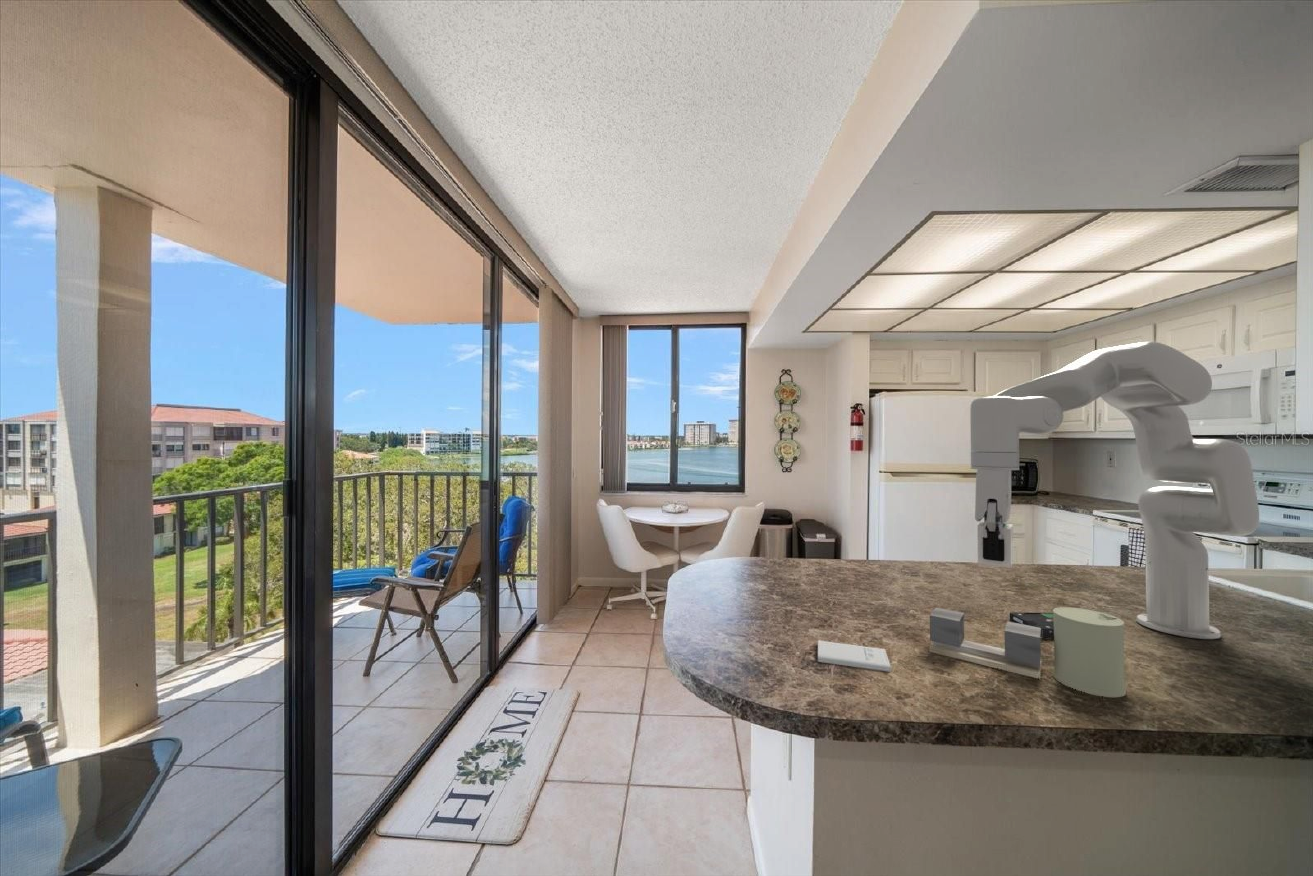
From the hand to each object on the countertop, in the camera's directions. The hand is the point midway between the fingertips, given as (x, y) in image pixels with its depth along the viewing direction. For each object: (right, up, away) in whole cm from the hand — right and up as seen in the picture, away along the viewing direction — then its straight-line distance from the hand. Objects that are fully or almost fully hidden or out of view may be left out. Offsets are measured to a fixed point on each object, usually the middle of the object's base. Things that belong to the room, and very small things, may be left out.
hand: (995, 556), depth 90 cm
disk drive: (+25, -21, +15) cm, 36 cm away
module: (0, -1, 0) cm, 1 cm away
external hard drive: (-27, -20, +1) cm, 34 cm away
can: (+10, -20, -9) cm, 24 cm away
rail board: (-2, -20, +1) cm, 20 cm away
